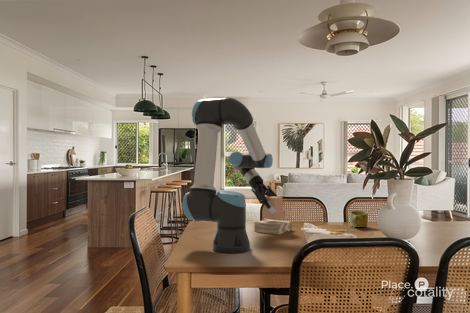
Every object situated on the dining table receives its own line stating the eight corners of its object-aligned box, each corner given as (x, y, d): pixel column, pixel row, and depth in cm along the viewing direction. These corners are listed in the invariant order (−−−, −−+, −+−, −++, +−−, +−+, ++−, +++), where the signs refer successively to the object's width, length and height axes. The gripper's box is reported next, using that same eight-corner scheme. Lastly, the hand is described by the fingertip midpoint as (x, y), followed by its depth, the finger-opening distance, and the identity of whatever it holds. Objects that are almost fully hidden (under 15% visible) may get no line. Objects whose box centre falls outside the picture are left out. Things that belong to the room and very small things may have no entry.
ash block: (278, 235, 172) (278, 225, 172) (254, 232, 181) (254, 222, 181) (291, 230, 184) (291, 221, 184) (268, 228, 192) (268, 218, 192)
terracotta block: (274, 219, 177) (274, 198, 178) (263, 218, 182) (263, 197, 182) (282, 218, 183) (282, 197, 183) (271, 216, 187) (271, 196, 187)
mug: (353, 220, 201) (356, 205, 198) (369, 228, 194) (373, 212, 190) (341, 227, 193) (344, 211, 190) (357, 236, 186) (361, 219, 183)
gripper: (261, 183, 200) (285, 214, 189) (238, 184, 186) (262, 219, 174) (268, 174, 197) (293, 205, 186) (245, 175, 182) (271, 209, 171)
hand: (278, 212), depth 180 cm, fingers closed on terracotta block, 7 cm apart
